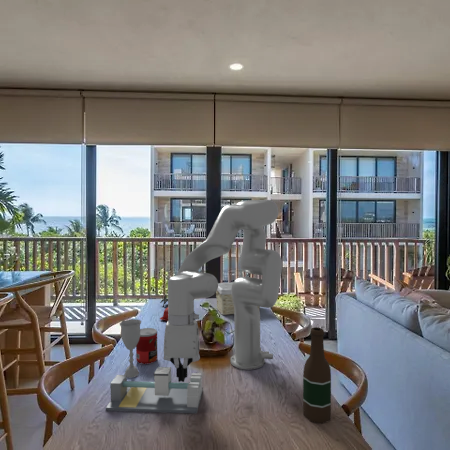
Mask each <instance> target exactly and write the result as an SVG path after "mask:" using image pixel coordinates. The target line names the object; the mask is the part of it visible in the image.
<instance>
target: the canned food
mask: <svg viewBox="0 0 450 450" xmlns="http://www.w3.org/2000/svg"><path fill="white" fill-rule="evenodd" d="M135 354H136V355H135V358H136V362H137V363H138V364H140V365H141V364H142V365H149V364H154V363H155V362H156V361H157V360H158V329H156V328H152V327H147V328H146V327H144V328H143V327H142V328H140V338H139V341H138V343H137V345H136V348H135Z"/></svg>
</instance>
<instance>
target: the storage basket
mask: <svg viewBox="0 0 450 450" xmlns="http://www.w3.org/2000/svg"><path fill="white" fill-rule="evenodd" d="M232 284H233V282H221V283H220V282H218V289H217V291H216V293H215V295H216V296H215V297H216V309H217V310H218V311H219V313H220V314H221V315H223V316H228V315H234V303H233V298H232V293H231V288H232ZM257 307H258V309H259V312H260V308H261V307H259V306H257Z"/></svg>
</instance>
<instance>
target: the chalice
mask: <svg viewBox="0 0 450 450" xmlns="http://www.w3.org/2000/svg"><path fill="white" fill-rule="evenodd" d="M141 324H142V320H140V319H127V320H126V319H125V320H122V321H121V322H120V323H119V326H120V329H121V341H122V343H123V345H124V347H125V348H126V350H129V354H128V357H129V359H128V362H129V365H128V366H127V368H126V369H125V372H124V374H123V375H127V379H128V378H129V379H130V378H134V377H135V378H136V377H137V376H139V375H140V372H139V369H138V367H137V366H136V365H134V361H135V359H134V352H133V351H134V349H135V350H136V345H137V343H138V341H139V338H140V329H141Z"/></svg>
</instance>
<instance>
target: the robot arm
mask: <svg viewBox="0 0 450 450" xmlns="http://www.w3.org/2000/svg"><path fill="white" fill-rule="evenodd" d="M278 216H279V206H278V204H277V203H276V202H275V201H274V200H271V199H248V200H241V201H238V202H237V203H236V204H229V205H225V206H224V207H222V209H221V210H220V212H219V214H218V216H217V217H216V219H215V221H214V223H213V226H212V228H211V230H210V232H209V233H208V236H207V238H206V239H205V240H204V241H203V242H201V243H200V244H199V245H197V246H196V247H195V248H194V249H192V251H190V253H188V255H187V256H185V258H184V260H183V261H182V263H181V265H180V268H179V269H178V271H177V273H176V275H174V276H173V275H172V276H170V277H169V279H168V281H167V291H168V294H167V295H168V301H167V308H168V321H167V322H166V324H165V329H164V335H163V360H164V361H166V362H171V364H172V365H173V366H174V367H175V370H176V371H175V372H176V375H175V377H176V378H178V380H177V381H178V382H177V383H185V379H186V378H188V367H189V365H191V363H194V362H199V360H200V359H201V356H200V353H199V352H200V348H201V347H200V333H199V325H198V322H197V321H196V320H199V319H200V314H196V312H195V299H207V298H210V297H212V296H214V295H216V291H217V289H218V284H219V281H218V279H217V277H216V276H215V275H214V274H212V273H208V272H204V271H199V270H200V269H201V268H202V267H203V266H204V265H205V264H206V263H208V262H209V261H211V260H213V259H217V258H219V257H222V256H223V255H226V254H228V253H229V252H230V251H231V248H232V246H233V244H234V242H235V240H236V238H237V235H238V233H239V232H240V230H242V232H243V238H242V239H243V241H242V246H241V252H240V253H241V254H240V260H239V267H240V270H241V271H242V272H243V273H246V274H251V275H258V276H262V278H257V277H252V276H251V277H250V276H241V277H240V276H239V277H237V278H236V279H234V281H233V282H232V283H233V284H232V288H231V293H232V298H233V303H234V314H233V315H234V316H233V318H234V319H233V321H234V322H233V323H234V324H233V326H234V327H233V329H234V334H233V335H234V354H233V355H232V356H230V364H231V365H232V366H233V367H235V368H237V369H241V370H246V371H247V370H256V369H260V368H261V367H264V365H265V362H266V361H265V360H274V354H273V353H270V351H263V350H262V347H261V313H260V311H259V309H258V307H257V306H259V307H260V308H265V309H271V308H272V307H274V306H275V304H276V303H277V301H278V298H279V291H280V287H281V279H282V271H283V260H282V257H281V254H280V253H279V251H276V250H274V249H266V243H267V233H266V231H265V229H264V227H266V226H268V225H272V224H273V223H274V222H275V221H276V220H277V219H278ZM181 359H183V363H182V362H181Z"/></svg>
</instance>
